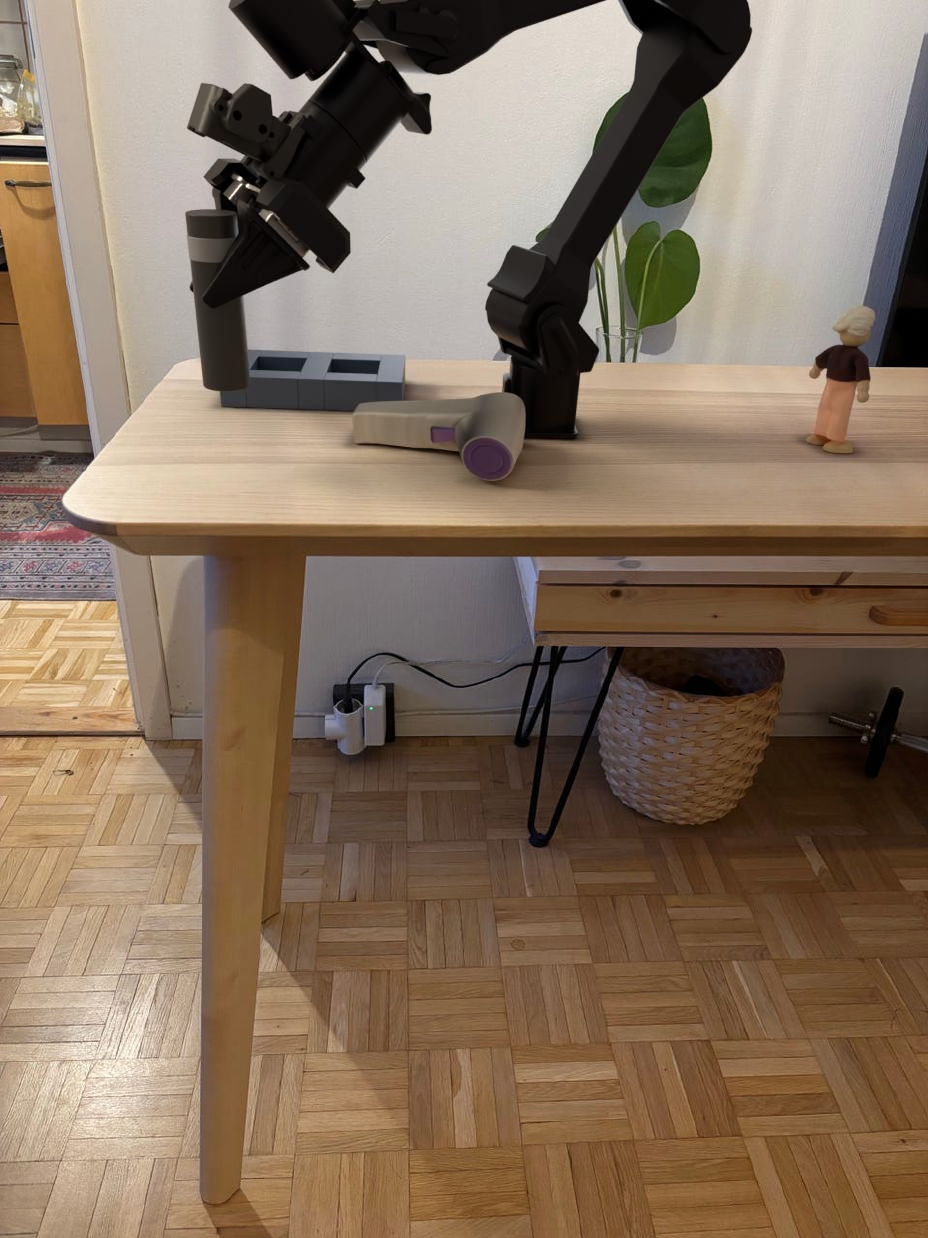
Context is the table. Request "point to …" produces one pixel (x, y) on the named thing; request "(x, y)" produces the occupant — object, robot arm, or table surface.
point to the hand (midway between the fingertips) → (200, 298)
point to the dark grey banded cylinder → (223, 324)
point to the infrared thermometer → (451, 429)
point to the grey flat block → (318, 380)
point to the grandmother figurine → (842, 379)
